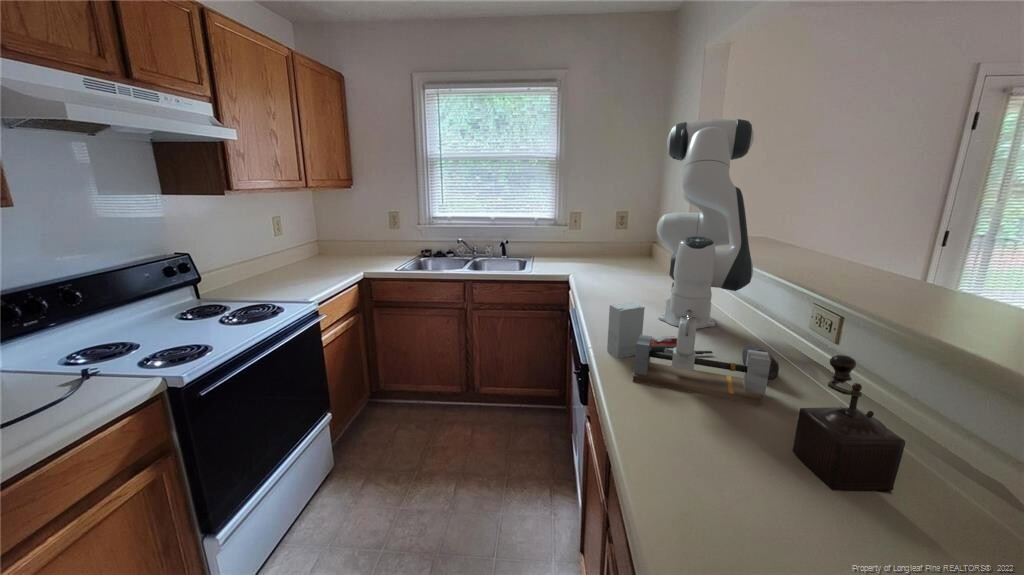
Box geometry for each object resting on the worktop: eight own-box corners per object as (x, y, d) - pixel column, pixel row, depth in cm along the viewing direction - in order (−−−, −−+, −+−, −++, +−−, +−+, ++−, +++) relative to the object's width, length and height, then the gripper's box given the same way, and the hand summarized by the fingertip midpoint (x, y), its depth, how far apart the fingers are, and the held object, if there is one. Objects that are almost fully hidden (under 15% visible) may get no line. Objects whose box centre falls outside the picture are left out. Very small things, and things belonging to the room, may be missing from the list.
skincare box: (629, 347, 125) (633, 300, 121) (641, 355, 119) (646, 306, 116) (605, 351, 122) (608, 303, 118) (617, 359, 117) (620, 309, 113)
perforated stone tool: (734, 360, 117) (738, 337, 115) (754, 361, 116) (758, 338, 114) (755, 384, 103) (759, 358, 101) (778, 386, 102) (783, 360, 100)
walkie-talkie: (644, 358, 118) (713, 358, 119) (646, 344, 117) (715, 344, 118) (635, 346, 127) (699, 346, 127) (636, 333, 126) (701, 333, 126)
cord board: (637, 365, 113) (640, 331, 110) (759, 386, 101) (766, 348, 99) (632, 381, 104) (635, 343, 101) (765, 406, 92) (772, 364, 90)
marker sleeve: (672, 361, 106) (674, 347, 105) (693, 365, 104) (695, 350, 103) (671, 367, 102) (673, 352, 101) (693, 371, 100) (695, 356, 99)
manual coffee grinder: (899, 492, 67) (928, 391, 62) (831, 491, 67) (854, 391, 62) (828, 435, 82) (847, 351, 77) (773, 435, 82) (788, 350, 77)
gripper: (704, 319, 89) (696, 378, 92) (704, 297, 107) (697, 346, 110) (673, 316, 91) (667, 373, 94) (678, 294, 109) (672, 343, 113)
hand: (683, 358), depth 102 cm, fingers closed on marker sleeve, 4 cm apart
